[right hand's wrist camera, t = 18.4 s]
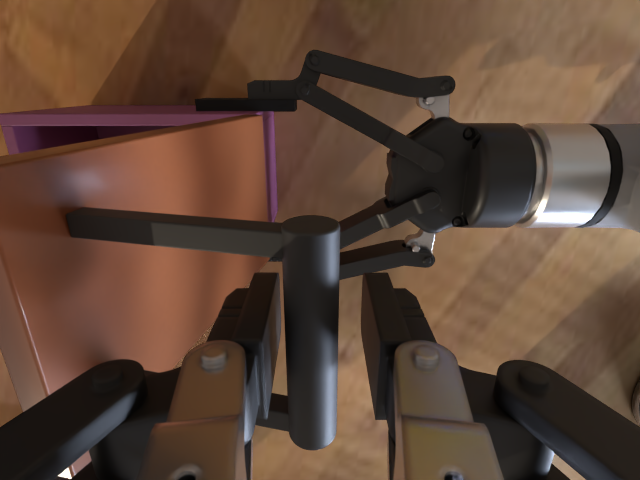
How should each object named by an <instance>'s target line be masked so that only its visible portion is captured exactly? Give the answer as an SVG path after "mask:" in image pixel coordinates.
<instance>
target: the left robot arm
mask: <svg viewBox="0 0 640 480" xmlns="http://www.w3.org/2000/svg"><path fill="white" fill-rule="evenodd" d="M320 73H321V74H325V75H328V76H332V77H336V78H339V79H343V80H347V81H350V82H354V83H358V84H362V85H365V86H369V87H373V88H376V89H380V90H384V91H387V92H391V93H395V94H398V95H403V96H408V97H416V104H417V105H418V106H419V107H420V108H423V109H427V110H428V111H429V112H430V113H431V118H430V119H429V120H427V121H426V122H424V123H423V124H422V125H420V126H419V127H417V128H416V129H415V130H413V131H412V132H410V133H409V134H407V135H406V136H405V135H403V134H401V133H400V132H398V131H396V130H394V129H393V128H391V127H389V126H387V125H385V124H384V123H382V122H380V121H378V120H377V119H375V118H373V117H371V116H369V115H368V114H366V113H364V112H362V111H361V110H359V109H357V108H355V107H353V106H352V105H350V104H348V103H346V102H345V101H343V100H341V99H339V98H337V97H336V96H334V95H332V94H330V93H329V92H327V91H325V90H323V89H322V88H320V87H318V86H316V85H317V82H318V79H319V76H320ZM247 86H248V98H202V99H195V104H196V111H296V110H297V100H303V101H305V102H307V103H309V104H310V105H312V106H314V107H316V108H318V109H319V110H321V111H323V112H325V113H327V114H329V115H330V116H332V117H334V118H336V119H338V120H339V121H341V122H343V123H345V124H347V125H348V126H350V127H352V128H354V129H356V130H357V131H359V132H361V133H363V134H365V135H366V136H368V137H370V138H372V139H374V140H376V141H377V142H379V143H381V144H383V145H384V146H386V147H387V148H389V149H391V150H390V152H389V153H387V168H388V172H389V174H388V177H387V180H386V183H385V195H386V197H384V198H382V199H380V200H378V201H377V202H375V203H374V205H372V206H370V207H368V208H366V209H364V210H362V211H360V212H358V213H356V214H354V215H352V216H350V217H348V218H346V219H344V220H342V221H340V222H338V223H339V225H340V249H342V248H344V247H346V246H348V245H350V244H352V243H354V242H356V241H358V240H360V239H362V238H364V237H367V236H369V235H371V234H373V233H375V232H377V231H379V230H381V229H383V228H391V227H393V226H395V225H397V224H399V223H401V222H404V221H406V220H409V221H411V222H412V223H413V224H415V225H416V226H417V227H419V228H420V230H419V231H418V232H417V233H416V234H412V235H408V236H407V237H406V238H405V240H395V241H389V242H385V243H380V244H376V245H372V246H367V247H363V248H358V249H354V250H350V251H345V252H341V253H340V264H339V280H341V279H346V278H350V277H354V276H359V275H363V274H364V273H372V272H377V271H381V270H386V269H390V268H395V267H399V266H404V265H405V266H415V267H430V266H432V265H433V264H434V262H435V257H434V255H433V254H432V248H433V243H434V239H435V234H436V233H438V232H440V231H442V230H444V229H447V228H450V227H464V228H507V227H510V226H513V225H515V226H517V227H521V228H547V227H577V228H583V227H604V228H626V229H631V230H635V231H638V232H640V124H605V125H597V124H547V123H532V124H526V125H524V126H520V125H519V124H516V123H459V122H456V121H455V120H453V119H452V118H449V94H451V93H452V92H453V90H454V89H455V81H454V79H453V78H452V77H450V76H435V77H426V78H416V77H413V76H409V75H405V74H402V73H398V72H394V71H391V70H387V69H384V68H380V67H376V66H373V65H369V64H366V63H362V62H358V61H355V60H351V59H347V58H344V57H340V56H337V55H333V54H329V53H326V52H322V51H319V50H312V51H309V52H308V54H307V55H306V58H305V62H304V65H303V68H302V71H301V74H300V75H299V77H298V78H296V79H294V80H254V81H252V82H250V83H248V84H247ZM268 261H282V259H279V258H270V259H269V260H268ZM632 410H633V414H634V417H635V419H636V421H637V423H638V424H639V425H640V379H639V381H638V383H637V385H636V387H635V390H634V393H633V397H632Z"/></svg>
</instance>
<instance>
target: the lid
mask: <svg viewBox="0 0 640 480" xmlns="http://www.w3.org/2000/svg"><path fill="white" fill-rule="evenodd" d="M270 258H279V259H282V264H283V290H284V315H285V341H286V367H287V392H288V396H285V395H280V394H274V393H271V398H270V405H269V411H268V417H267V419H256V422H255V425H259V426H263V427H268V428H273V429H278V430H283V431H288V432H289V435H290V437H291V439H292V441H293V442H294V443H295V444H296V445H297V446H299V447H300V448H303V449H306V450H319V449H322V448H324V447H326V446H328V445H329V444H330V443H331V442H332V441H333V439H334V438H335V435H336V424H337V371H338V317H339V264H340V225H339V223H338V221H336V220H334V219H332V218H329V217H324V216H315V215H307V216H298V217H294V218H290V219H288V220H286V221H284V222H283V223H276V222H268V216H267V197H266V177H265V158H264V139H263V119H262V115H256V114H244V115H239V116H233V117H227V118H221V119H215V120H209V121H204V122H198V123H192V124H186V125H180V126H175V127H169V128H163V129H157V130H151V131H145V132H140V133H134V134H128V135H122V136H116V137H111V138H105V139H99V140H93V141H87V142H81V143H76V144H70V145H64V146H58V147H52V148H46V149H41V150H35V151H29V152H23V153H17V154H12V155H6V156H0V349H1V352H2V355H3V357H4V360H5V363H6V366H7V369H8V371H9V374H10V377H11V380H12V383H13V386H14V388H15V391H16V394H17V397H18V400H19V402H20V405H21V408H22V411H23V412H24V411H26V410H27V409H29V408H30V407H32V406H33V405H35V404H37V403H38V402H40V401H41V400H43V399H44V398H46V397H47V396H49V395H50V394H52V393H53V392H55V391H56V390H58V389H59V388H61V387H62V386H64V385H66V384H67V383H69V382H70V381H72V380H73V379H75V378H76V377H78V376H79V375H81V374H82V373H84V372H85V371H87V370H89V369H90V368H92V367H94V366H96V365H98V364H101V363H104V362H107V361H111V360H117V359H130V360H134V361H137V362H139V363H140V364H141V365H142V366H143V368H144V373H145V376H146V375H151V374H156V373H160V372H165V371H169V370H172V369H173V368H174V367H175V366H176V365H177V364H178V362H179V361H180V360H181V359H182V358H183V357H184V356H185V354H186V353H187V352H188V351H189V350H190V349H191V348H192V347H193V345H194V344H195V343H196V342H197V341H198V340H199V339H200V337H201V336H202V335H203V334H204V333H205V332H206V331H207V330H208V328H209V327H210V326H211V325H212V324H213V323H214V322H215V320H216V319H217V317H218V314H219V312H220V310H221V309H222V305H223V303H224V300H225V298H226V297H227V296H228V295H229V294H230V293H232V292H233V291H234V290H235V289H236V288H245V286H246V285H247V284H248V283H249V282H250V281H251V280H252V278H253V275H254V273H258V272H259V271H260V269H261V268H262V267H263V266H264V265H265V264H266V263H267V262H268V260H269V259H270ZM89 462H91V457H90V454H89V450H88V451H87V452H86V453H85V454H84V455H82V456H81V457H80V458H79V459H78V460H76V461H75V462H74V463H73V464H72V465H70V466H69V467H68V468H67V469H66V470H65V471H63V472H62V473H61V474H60V475H59V476H60V477H64V478H67V479H71V478H72V477H73V476H75V475H76V474H77V473H78V472H79V471H80V470H81V469H83V468H84V467H85V466H86V465H87V464H88V463H89Z"/></svg>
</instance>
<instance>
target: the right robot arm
mask: <svg viewBox="0 0 640 480" xmlns="http://www.w3.org/2000/svg"><path fill="white" fill-rule="evenodd" d="M280 333H281V307H280V283H279V273H254V275H253V278H252V281H251V283H250V286H249V288H236V289H235V290H234V291H233V292H232V293H230V294H229V295H228V296H227V297H226V298H225V300H224V303H223V305H222V309H221V310H220V312H219V314H218V317H217V319H216V321H215V323H214V325H213V328H212V330H211V332H210V334H209V337H208V339H207V341H206V343H203V344H200V345H198V346H196V347H195V348H193V349H192V350H190V351H189V352H188V353H187V354H186V356H185V357H184V360H183V362H182V366H181V367H179V368H176V369H173V370H169V371H165V372H160V373H156V374H151V375H146V376H145V373H144V368H143V366H142V365H141V364H140V363H139V362H137V361H134V360H130V359H117V360H111V361H107V362H104V363H101V364H98V365H96V366H94V367H92V368H90V369H89V370H87V371H85V372H84V373H82V374H81V375H79V376H78V377H76V378H75V379H73V380H72V381H70V382H69V383H67V384H66V385H64V386H62V387H61V388H59V389H58V390H56V391H55V392H53V393H52V394H50V395H49V396H47V397H46V398H44V399H43V400H41V401H40V402H38V403H37V404H35V405H33V406H32V407H30V408H29V409H27V410H26V411H24V412H23V413H21V414H20V415H18V416H17V417H15V418H14V419H12V420H11V421H9V422H8V423H6V424H4V425H3V426H1V427H0V480H252V461H253V442H252V435H253V432H254V427H255V422H256V419H267V417H268V411H269V405H270V398H271V392H272V386H273V379H274V373H275V367H276V360H277V354H278V347H279V341H280ZM361 334H362V341H363V348H364V354H365V360H366V366H367V372H368V378H369V384H370V390H371V396H372V402H373V408H374V414H375V420H387V424H388V429H389V430H388V442H387V461H388V480H570V479H569V478H568V477H567V476H566V475H564V474H563V473H562V472H561V471H560V470H559V469H557V468H556V467H555V466H554V465H553V464H552V459H553V456H554V453H555V454H556V455H558V456H559V457H560V458H561V459H562V460H564V461H565V462H566V463H567V464H568V465H570V466H571V467H572V468H573V469H574V470H576V471H577V472H578V473H579V474H580V475H581V476H583V477H584V478H585V479H586V480H640V427H639V426H637V425H636V424H634V423H633V422H631V421H629V420H628V419H626V418H625V417H623V416H622V415H620V414H619V413H617V412H616V411H614V410H613V409H611V408H610V407H608V406H607V405H605V404H603V403H602V402H600V401H599V400H597V399H596V398H594V397H593V396H591V395H590V394H588V393H587V392H585V391H584V390H582V389H581V388H579V387H578V386H576V385H574V384H573V383H571V382H570V381H568V380H567V379H565V378H564V377H562V376H561V375H559V374H558V373H556V372H555V371H553V370H551V369H549V368H547V367H545V366H543V365H540V364H538V363H534V362H530V361H525V360H512V361H507V362H505V363H503V364H501V365H500V366H499V368H498V371H497V376H495V375H491V374H486V373H482V372H477V371H473V370H469V369H466V368H463V367H461V366H459V365H458V362H457V360H456V357H455V356H454V354H453V353H452V352H451V351H450V350H448V349H447V348H445V347H444V346H442V345H440V344H437V342H436V340H435V338H434V336H433V333H432V331H431V329H430V327H429V324H428V322H427V320H426V318H425V317H424V313H423V311H422V309H421V307H420V305H419V302H418V300H417V298H416V297H415V296H414V295H413V294H412V293H410V292H409V291H408V290H407V289H405V288H393V286H392V283H391V280H390V277H389V275H388V273H364V274H363V283H362V306H361ZM88 450H89V454H90V457H91V462H89V463H88V464H87V465H86V466H85V467H84V468H83V469H81V470H80V471H79V472H78V473H77V474H76V475H75V476H73V477H72V478H71V479H67V478H64V477H60V476H59V475H60V474H61V473H62V472H63V471H65V470H66V469H67V468H68V467H69V466H70V465H72V464H73V463H74V462H75V461H76V460H78V459H79V458H80V457H81V456H82V455H84V454H85V453H86V452H87V451H88Z"/></svg>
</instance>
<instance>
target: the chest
mask: <svg viewBox="0 0 640 480" xmlns="http://www.w3.org/2000/svg"><path fill="white" fill-rule="evenodd" d="M244 114H256V115H262V119H263V139H264V158H265V177H266V197H267V216H268V222H274V220H275V217H276V214H277V211H278V204H277V180H276V156H275V132H274V111H196V105H87V106H77V107H66V108H55V109H45V110H34V111H23V112H13V113H2V114H0V124H1V126H2V131H3V134H4V138H5V141H6V145H7V148H8V152H9V155H12V154H17V153H23V152H29V151H35V150H41V149H46V148H52V147H58V146H64V145H70V144H76V143H81V142H87V141H93V140H99V139H105V138H111V137H116V136H122V135H128V134H134V133H140V132H145V131H151V130H157V129H163V128H169V127H175V126H180V125H186V124H192V123H198V122H204V121H209V120H215V119H221V118H227V117H233V116H239V115H244Z"/></svg>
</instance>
